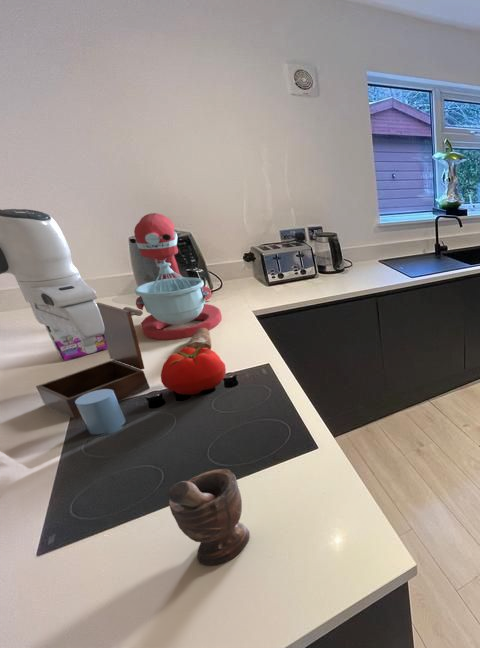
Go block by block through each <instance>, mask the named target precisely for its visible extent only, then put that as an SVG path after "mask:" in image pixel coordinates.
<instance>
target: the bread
mask: <svg viewBox="0 0 480 648" xmlns="http://www.w3.org/2000/svg"><path fill="white" fill-rule="evenodd" d="M186 347H189V348H194V349H198V348H199V349H200V347H201V348H208V349H210V350H212V341H211V335H210V330H208V329H206V328H200V329H198V330H197V331H196V332H195V333H194V335H193V336H191V337H190V339H189V341H188V343H187V345H186Z"/></svg>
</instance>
